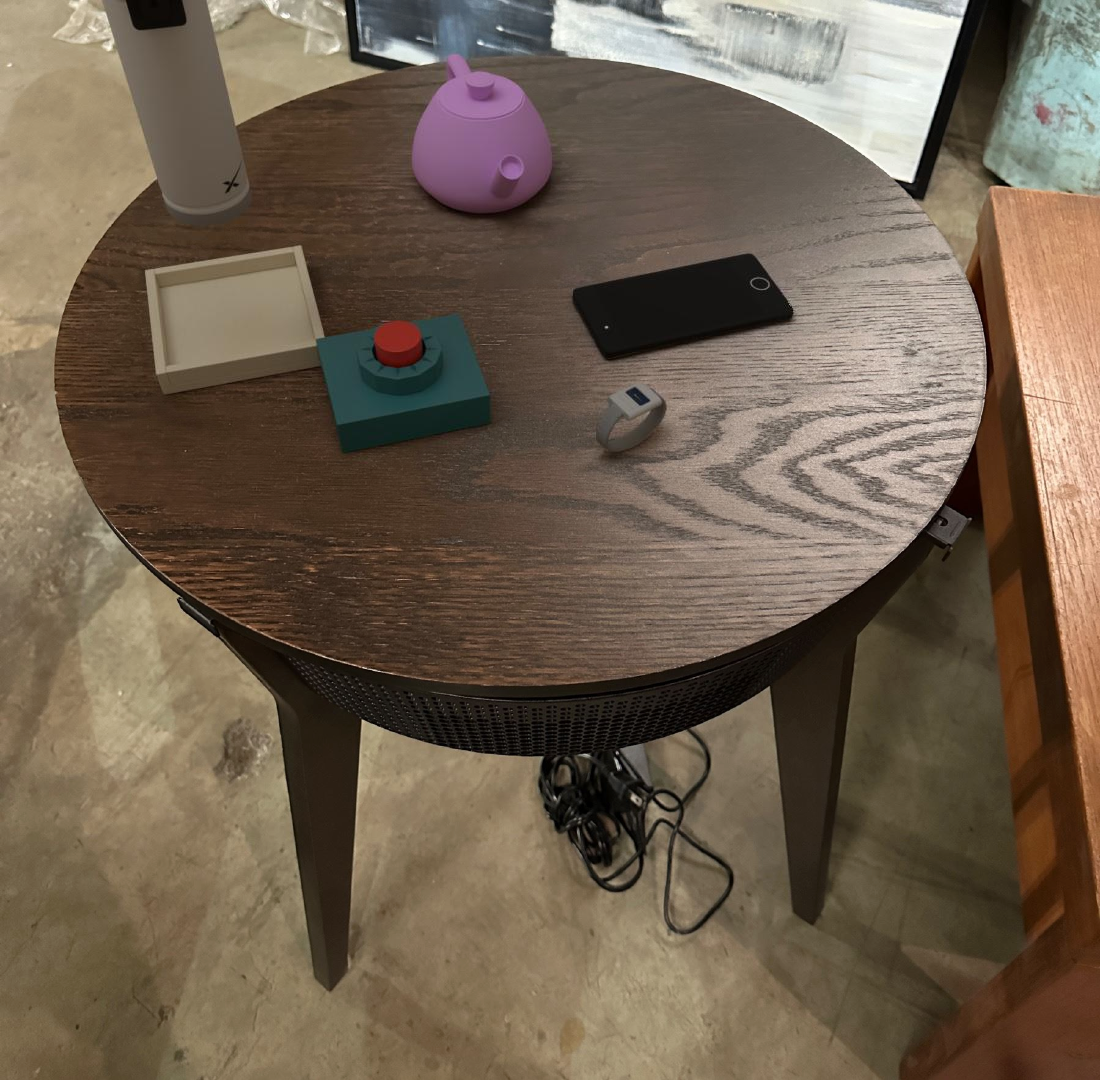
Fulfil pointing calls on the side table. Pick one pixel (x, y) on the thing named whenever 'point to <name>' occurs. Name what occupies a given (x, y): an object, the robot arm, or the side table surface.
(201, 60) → the travel mug
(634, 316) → the cell phone
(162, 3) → the robot arm
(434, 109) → the teapot
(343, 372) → the block
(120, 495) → the side table surface
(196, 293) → the tray
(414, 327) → the button
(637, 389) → the wristwatch
